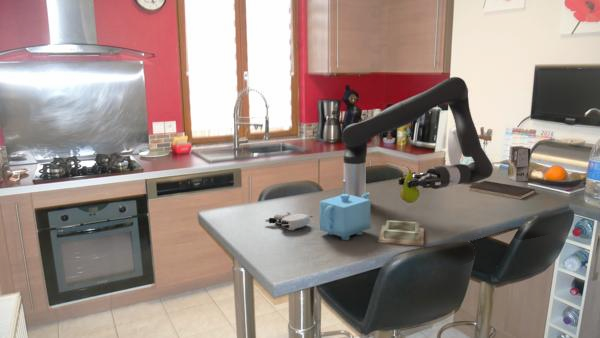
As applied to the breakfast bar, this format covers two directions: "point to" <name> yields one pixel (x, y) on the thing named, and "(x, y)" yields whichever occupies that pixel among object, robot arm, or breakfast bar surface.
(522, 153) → the coffee box
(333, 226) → the teapot
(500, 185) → the book
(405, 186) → the fruit
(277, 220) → the robot toy
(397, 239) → the tray
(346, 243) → the breakfast bar surface
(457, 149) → the skyscraper
